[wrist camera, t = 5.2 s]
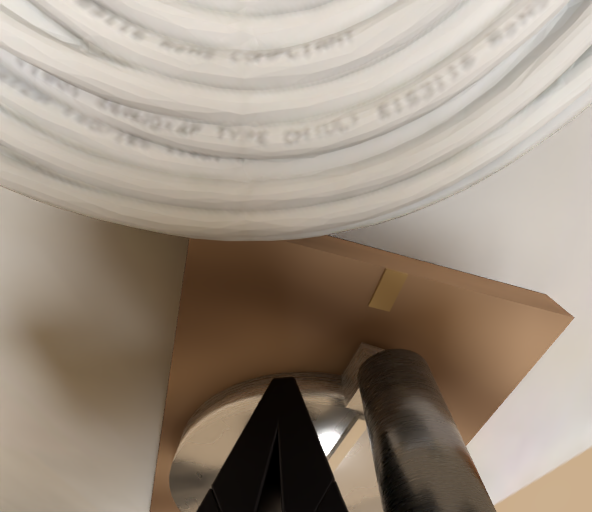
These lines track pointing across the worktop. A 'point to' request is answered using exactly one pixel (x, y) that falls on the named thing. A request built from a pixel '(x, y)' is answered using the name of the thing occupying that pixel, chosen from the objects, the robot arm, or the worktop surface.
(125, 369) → the worktop surface
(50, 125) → the cable
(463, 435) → the board
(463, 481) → the metal disc with handle
